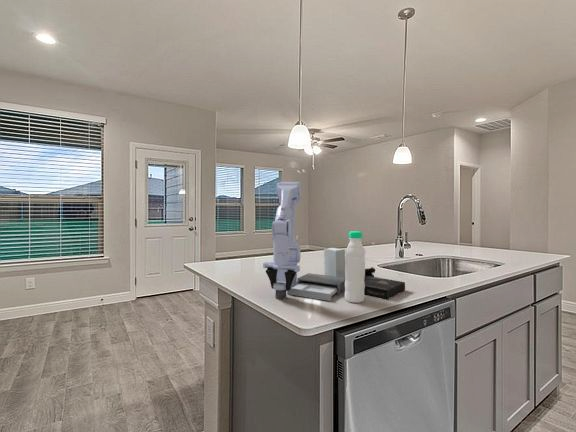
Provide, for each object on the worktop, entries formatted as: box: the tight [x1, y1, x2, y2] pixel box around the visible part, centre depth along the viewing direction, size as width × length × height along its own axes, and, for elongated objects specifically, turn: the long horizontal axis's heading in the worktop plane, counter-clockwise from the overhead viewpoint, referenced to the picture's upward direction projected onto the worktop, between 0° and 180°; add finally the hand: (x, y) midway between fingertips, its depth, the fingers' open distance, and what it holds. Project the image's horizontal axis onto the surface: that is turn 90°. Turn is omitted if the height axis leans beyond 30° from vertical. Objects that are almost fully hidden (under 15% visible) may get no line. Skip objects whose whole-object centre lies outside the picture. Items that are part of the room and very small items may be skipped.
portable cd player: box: [364, 276, 406, 301], centre depth 128 cm, size 16×17×4 cm
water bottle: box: [344, 230, 366, 304], centre depth 114 cm, size 7×7×25 cm
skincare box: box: [323, 247, 346, 278], centre depth 142 cm, size 8×6×15 cm
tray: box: [286, 283, 338, 302], centre depth 122 cm, size 18×11×2 cm, turn 62°
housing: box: [297, 272, 346, 296], centre depth 130 cm, size 18×11×4 cm, turn 62°
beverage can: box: [365, 266, 376, 277], centre depth 146 cm, size 9×8×12 cm
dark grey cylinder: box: [275, 290, 287, 300], centre depth 118 cm, size 4×4×4 cm
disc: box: [272, 282, 286, 291], centre depth 118 cm, size 6×6×2 cm
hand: (280, 289), depth 118 cm, fingers closed on disc, 6 cm apart
